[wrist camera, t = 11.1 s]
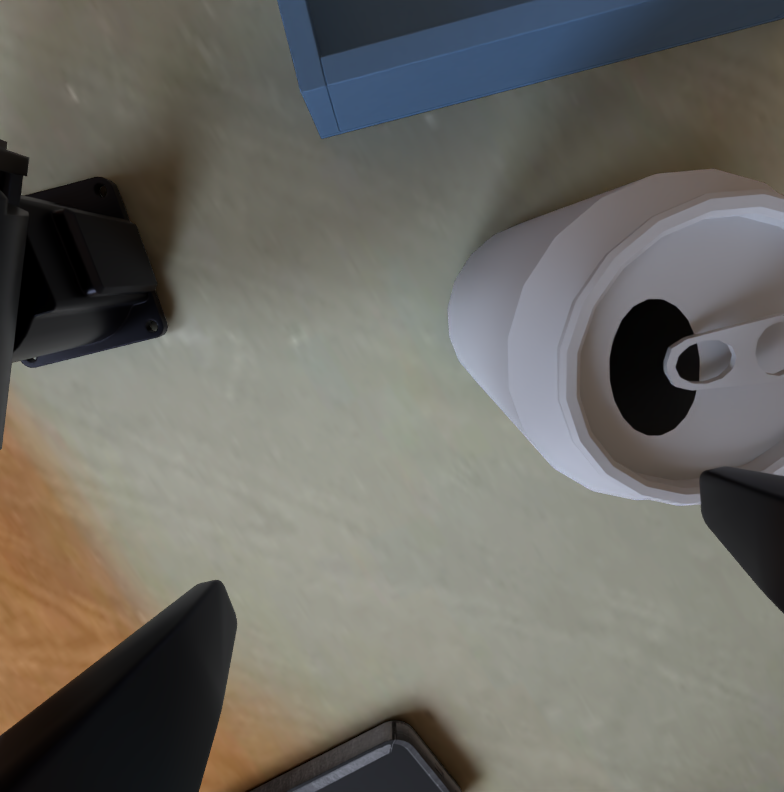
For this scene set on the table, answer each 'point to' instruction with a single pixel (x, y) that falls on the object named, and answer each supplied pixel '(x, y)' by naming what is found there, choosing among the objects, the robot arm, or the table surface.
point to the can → (637, 332)
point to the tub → (477, 47)
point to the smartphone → (371, 766)
